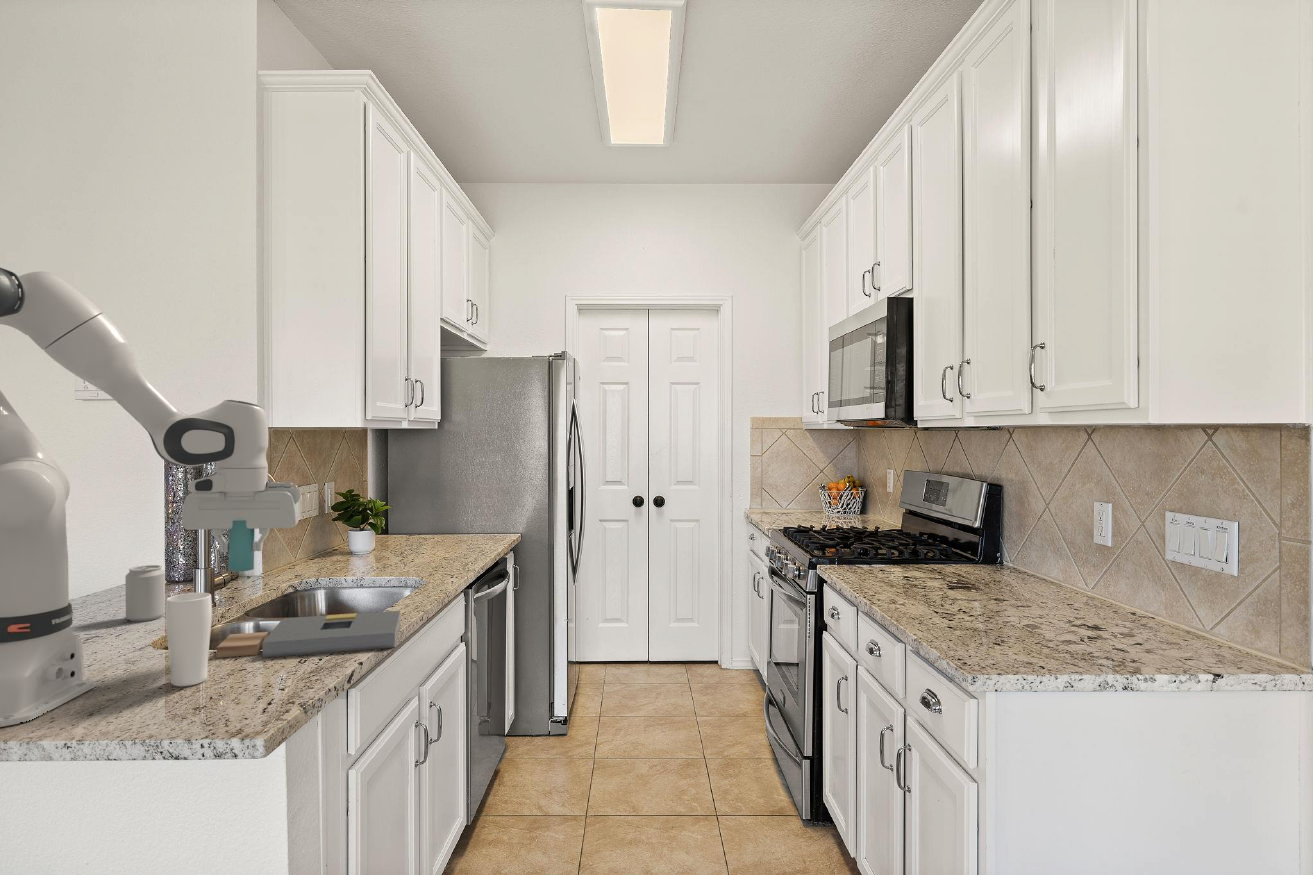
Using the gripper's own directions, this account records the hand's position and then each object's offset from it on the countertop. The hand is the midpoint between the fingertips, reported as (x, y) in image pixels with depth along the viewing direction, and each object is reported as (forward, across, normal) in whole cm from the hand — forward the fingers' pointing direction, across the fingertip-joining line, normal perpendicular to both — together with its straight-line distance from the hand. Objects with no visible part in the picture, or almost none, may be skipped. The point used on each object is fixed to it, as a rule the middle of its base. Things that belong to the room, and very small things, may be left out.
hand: (241, 551), depth 142 cm
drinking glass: (+20, +3, +18) cm, 27 cm away
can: (+20, +28, -32) cm, 47 cm away
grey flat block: (+19, -18, -2) cm, 26 cm away
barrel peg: (+4, 0, 0) cm, 4 cm away
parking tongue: (+20, -1, 0) cm, 20 cm away
